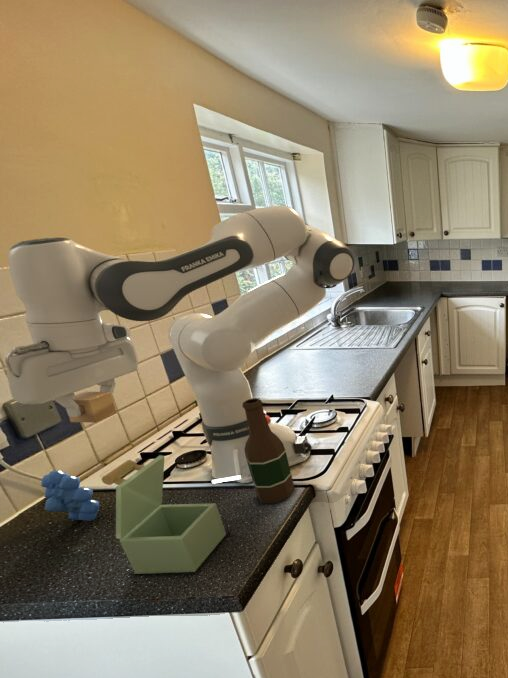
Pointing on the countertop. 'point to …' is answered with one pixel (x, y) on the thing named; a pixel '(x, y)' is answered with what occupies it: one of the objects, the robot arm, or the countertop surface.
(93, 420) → the block
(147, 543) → the container
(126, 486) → the box lid
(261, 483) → the beer bottle
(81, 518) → the grapes
